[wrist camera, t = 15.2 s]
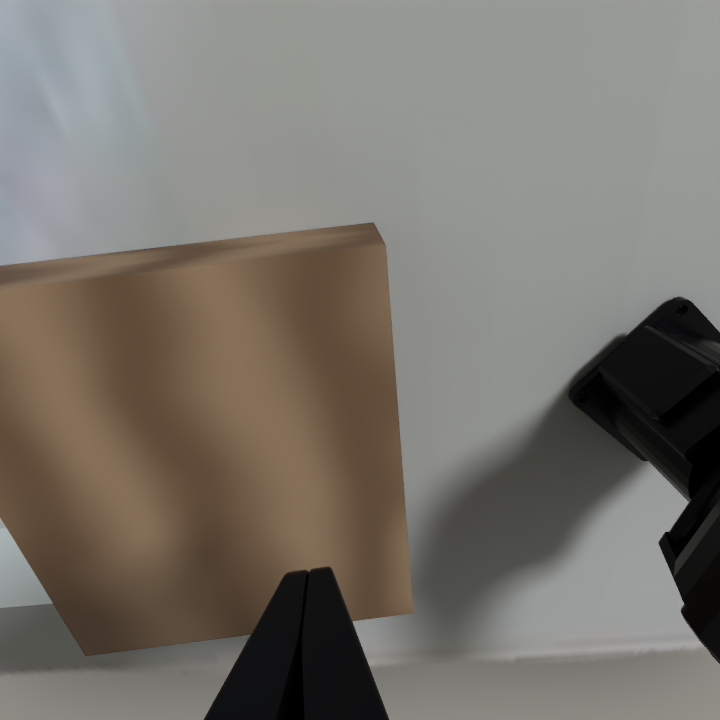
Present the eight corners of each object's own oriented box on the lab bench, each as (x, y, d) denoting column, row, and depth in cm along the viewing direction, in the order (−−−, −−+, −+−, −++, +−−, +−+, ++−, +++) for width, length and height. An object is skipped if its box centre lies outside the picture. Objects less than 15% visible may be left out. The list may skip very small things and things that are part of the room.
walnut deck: (373, 222, 18) (385, 244, 14) (401, 547, 26) (413, 613, 22) (-39, 270, 18) (-131, 305, 14) (118, 583, 26) (85, 656, 22)
